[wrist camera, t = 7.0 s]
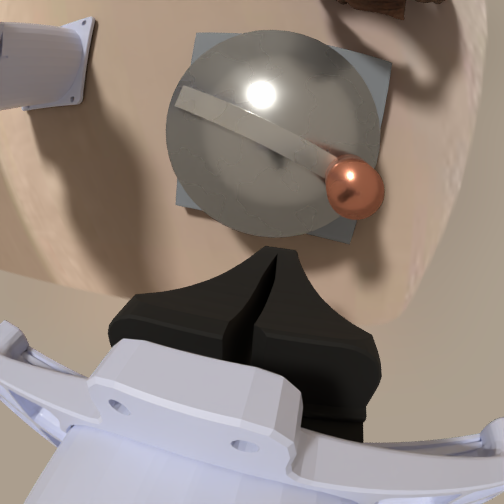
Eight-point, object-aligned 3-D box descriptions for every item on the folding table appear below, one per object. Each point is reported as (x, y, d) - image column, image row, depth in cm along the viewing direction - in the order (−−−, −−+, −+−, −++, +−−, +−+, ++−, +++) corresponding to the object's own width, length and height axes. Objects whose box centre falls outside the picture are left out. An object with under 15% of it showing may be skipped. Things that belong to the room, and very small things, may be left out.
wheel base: (181, 200, 20) (173, 206, 19) (202, 36, 15) (194, 31, 14) (348, 238, 19) (350, 246, 18) (388, 65, 13) (393, 61, 12)
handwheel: (401, 167, 15) (437, 190, 10) (251, 248, 19) (227, 296, 14) (299, 13, 12) (290, -29, 7) (157, 113, 17) (101, 118, 12)
